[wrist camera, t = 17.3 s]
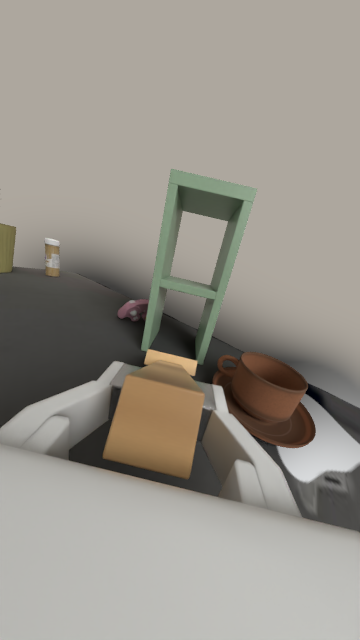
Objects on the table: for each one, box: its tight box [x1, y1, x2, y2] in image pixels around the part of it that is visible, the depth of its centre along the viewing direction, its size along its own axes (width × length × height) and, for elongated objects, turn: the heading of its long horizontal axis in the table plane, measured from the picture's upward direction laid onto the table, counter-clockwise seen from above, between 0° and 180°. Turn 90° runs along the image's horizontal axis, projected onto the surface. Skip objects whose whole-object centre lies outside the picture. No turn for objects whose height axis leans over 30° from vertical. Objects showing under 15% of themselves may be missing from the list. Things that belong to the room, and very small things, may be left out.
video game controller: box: [118, 299, 149, 321], centre depth 41 cm, size 10×5×7 cm, turn 130°
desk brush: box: [103, 349, 205, 479], centre depth 14 cm, size 19×6×3 cm
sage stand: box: [141, 169, 257, 365], centre depth 29 cm, size 10×11×26 cm
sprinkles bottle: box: [44, 238, 60, 277], centre depth 64 cm, size 5×5×14 cm
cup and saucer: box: [212, 352, 316, 448], centre depth 21 cm, size 12×12×6 cm
